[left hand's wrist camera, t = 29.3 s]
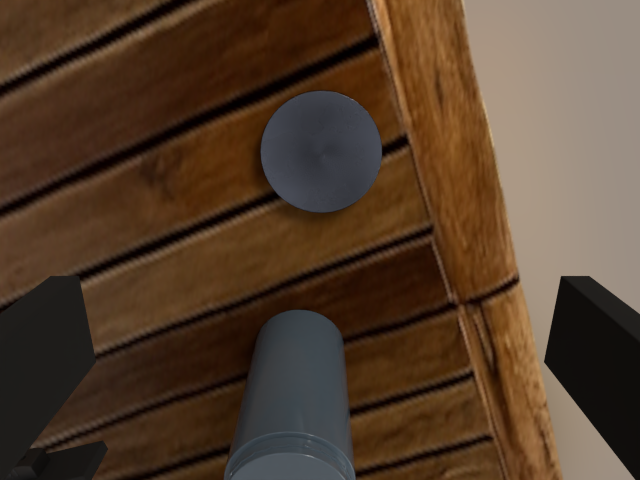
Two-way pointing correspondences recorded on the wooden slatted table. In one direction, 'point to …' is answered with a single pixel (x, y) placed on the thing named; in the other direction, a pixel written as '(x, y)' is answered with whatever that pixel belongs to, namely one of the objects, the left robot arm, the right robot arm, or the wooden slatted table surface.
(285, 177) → the lid
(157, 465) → the wooden slatted table surface
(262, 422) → the jar
